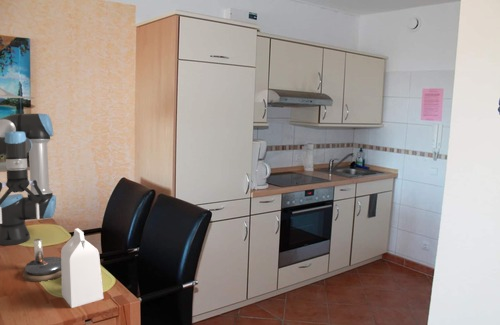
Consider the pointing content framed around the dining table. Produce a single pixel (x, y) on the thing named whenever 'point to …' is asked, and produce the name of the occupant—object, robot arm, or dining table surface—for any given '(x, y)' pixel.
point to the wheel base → (41, 277)
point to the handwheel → (42, 262)
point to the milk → (80, 271)
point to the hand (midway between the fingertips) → (19, 221)
